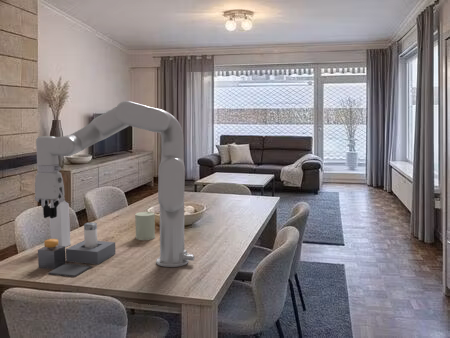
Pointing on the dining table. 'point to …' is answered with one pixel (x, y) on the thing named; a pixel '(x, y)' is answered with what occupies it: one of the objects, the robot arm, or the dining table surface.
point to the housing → (90, 252)
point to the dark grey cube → (51, 257)
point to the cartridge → (90, 235)
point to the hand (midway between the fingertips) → (50, 217)
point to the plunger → (51, 243)
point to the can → (145, 225)
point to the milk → (61, 225)
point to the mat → (70, 270)
